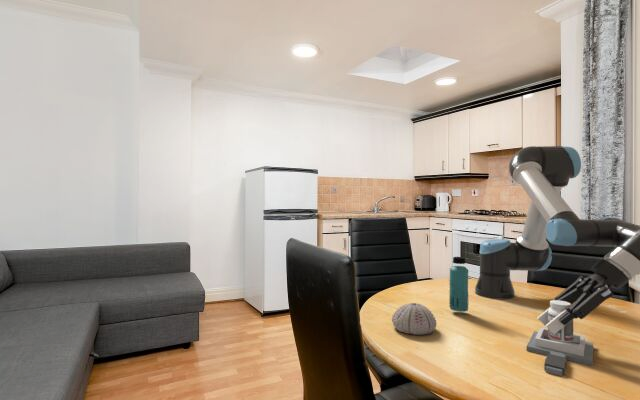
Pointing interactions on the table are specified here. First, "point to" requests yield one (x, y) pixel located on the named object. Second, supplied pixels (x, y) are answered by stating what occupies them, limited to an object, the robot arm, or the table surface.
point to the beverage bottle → (459, 286)
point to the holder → (560, 351)
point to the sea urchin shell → (414, 319)
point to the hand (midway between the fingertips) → (545, 325)
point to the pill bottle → (567, 331)
